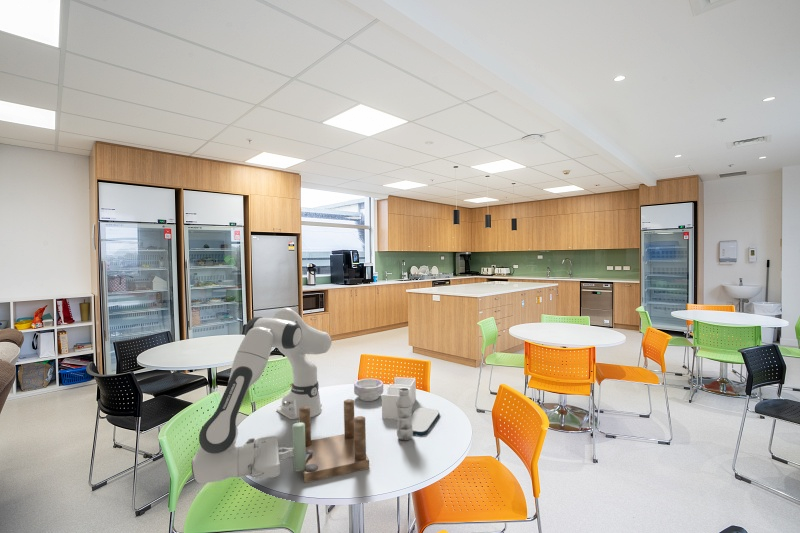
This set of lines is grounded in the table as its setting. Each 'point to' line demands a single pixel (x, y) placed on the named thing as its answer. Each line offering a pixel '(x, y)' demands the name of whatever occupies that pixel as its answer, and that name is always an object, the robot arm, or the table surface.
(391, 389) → the storage container
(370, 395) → the light grey bowl
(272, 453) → the robot arm
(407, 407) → the plastic bottle
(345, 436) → the stool
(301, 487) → the table surface
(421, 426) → the external hard drive
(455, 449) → the table surface
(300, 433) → the green piece
